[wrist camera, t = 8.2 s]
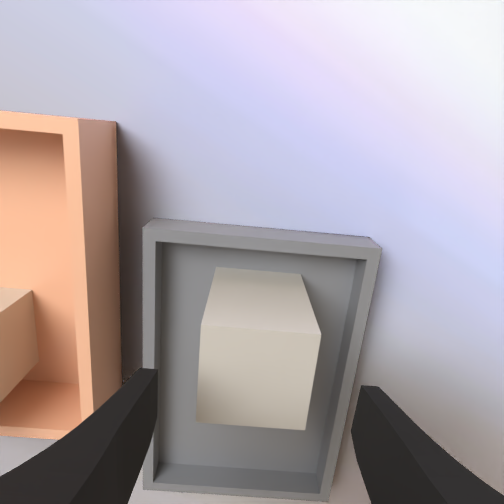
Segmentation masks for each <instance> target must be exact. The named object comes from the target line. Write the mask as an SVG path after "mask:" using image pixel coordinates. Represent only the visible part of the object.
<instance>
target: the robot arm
mask: <svg viewBox="0 0 504 504" xmlns="http://www.w3.org/2000/svg"><path fill="white" fill-rule="evenodd" d="M157 412H158V369H148V368H140V369H139V370H137V371H136V372H135V373H134V374H133V375H132V376H131V377H130V379H129V380H128V381H127V382H126V383H125V384H124V385H123V386H122V387H121V388H119V389H118V390H117V391H116V392H115V393H114V394H113V395H112V396H111V397H110V398H109V399H108V400H107V401H106V402H105V403H104V404H103V405H101V406H100V407H99V408H98V409H97V410H96V411H95V412H93V413H92V414H91V415H90V416H89V417H88V418H86V419H85V420H84V421H83V422H82V423H80V424H79V425H78V426H77V427H75V428H74V429H73V430H72V431H70V432H69V433H68V434H66V435H65V436H64V437H62V438H61V439H60V440H58V441H57V442H55V443H54V444H53V445H51V446H50V447H48V448H47V449H45V450H44V451H42V452H40V453H39V454H37V455H36V456H34V457H32V458H31V459H29V460H28V461H26V462H24V463H23V464H21V465H20V466H18V467H16V468H14V469H13V470H11V471H9V472H7V473H6V474H4V475H2V476H0V504H128V501H129V499H130V496H131V493H132V491H133V488H134V486H135V483H136V480H137V478H138V475H139V473H140V470H141V468H142V465H143V462H144V460H145V457H146V454H147V452H148V449H149V446H150V443H151V439H152V436H153V432H154V428H155V424H156V420H157ZM351 434H352V439H353V444H354V449H355V453H356V458H357V462H358V465H359V468H360V471H361V474H362V477H363V480H364V483H365V486H366V489H367V492H368V495H369V498H370V501H371V504H504V496H503V495H502V494H500V493H499V492H498V491H496V490H495V489H493V488H492V487H490V486H489V485H488V484H486V483H485V482H483V481H482V480H481V479H479V478H478V477H477V476H476V475H474V474H473V473H472V472H470V471H469V470H468V469H467V468H465V467H464V466H463V465H461V464H460V463H459V462H458V461H456V460H455V459H454V458H453V457H452V456H450V455H449V454H448V453H447V452H446V451H445V450H444V449H442V448H441V447H440V446H439V445H438V444H437V443H436V442H434V441H433V440H432V439H431V438H430V437H429V436H428V435H427V434H426V433H425V432H424V431H423V430H422V429H420V428H419V427H418V426H417V425H416V424H415V423H414V422H413V421H412V420H411V419H410V418H409V417H408V416H407V415H406V414H405V413H404V412H403V411H402V410H401V409H400V408H399V407H398V406H397V405H396V404H395V403H394V402H393V401H392V400H391V399H390V398H389V397H388V396H387V395H386V394H385V393H384V392H383V391H382V390H381V389H380V388H379V387H376V386H364V385H361V388H360V393H359V397H358V402H357V406H356V411H355V415H354V420H353V424H352V429H351Z"/></svg>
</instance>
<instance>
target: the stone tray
mask: <svg viewBox="0 0 504 504" xmlns="http://www.w3.org/2000/svg"><path fill="white" fill-rule="evenodd" d="M142 229H143V368H148V369H158V412H157V420H156V424H155V428H154V432H153V436H152V439H151V443H150V446H149V449H148V452H147V454H146V457H145V460H144V462H143V490H157V491H172V492H187V493H202V494H217V495H232V496H247V497H261V498H276V499H291V500H306V501H321V502H328V501H329V496H330V491H331V487H332V482H333V477H334V473H335V468H336V463H337V458H338V454H339V449H340V444H341V440H342V435H343V430H344V426H345V421H346V416H347V412H348V407H349V402H350V397H351V393H352V388H353V383H354V379H355V374H356V369H357V365H358V360H359V355H360V351H361V346H362V341H363V336H364V332H365V327H366V322H367V318H368V313H369V308H370V304H371V299H372V294H373V290H374V285H375V280H376V275H377V271H378V266H379V261H380V257H381V252H382V248H381V247H380V246H379V245H378V244H376V243H375V242H374V241H373V240H372V239H371V238H370V237H363V236H352V235H340V234H329V233H318V232H307V231H296V230H284V229H273V228H262V227H251V226H240V225H228V224H217V223H206V222H195V221H183V220H172V219H161V218H153V219H152V220H151V221H149V222H148V223H147V224H146V225H145V226H144V227H143V228H142ZM216 267H224V268H236V269H248V270H259V271H271V272H283V273H295V274H301V277H302V280H303V283H304V286H305V289H306V291H307V294H308V297H309V300H310V303H311V306H312V309H313V312H314V315H315V318H316V320H317V323H318V326H319V329H320V332H321V340H320V346H319V351H318V357H317V363H316V369H315V375H314V381H313V386H312V392H311V398H310V404H309V410H308V415H307V421H306V427H305V430H294V429H280V428H266V427H253V426H239V425H225V424H211V423H198V422H196V407H197V389H198V370H199V352H200V334H201V323H202V319H203V315H204V311H205V308H206V304H207V300H208V296H209V292H210V289H211V285H212V281H213V277H214V273H215V269H216Z"/></svg>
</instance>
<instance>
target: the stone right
mask: <svg viewBox="0 0 504 504" xmlns="http://www.w3.org/2000/svg"><path fill="white" fill-rule="evenodd" d="M320 340H321V332H320V329H319V326H318V323H317V320H316V318H315V315H314V312H313V309H312V306H311V303H310V300H309V297H308V294H307V291H306V289H305V286H304V283H303V280H302V277H301V274H295V273H283V272H271V271H259V270H248V269H236V268H224V267H216V269H215V273H214V277H213V281H212V285H211V289H210V292H209V296H208V300H207V304H206V308H205V311H204V315H203V319H202V323H201V334H200V352H199V370H198V389H197V407H196V422H198V423H211V424H225V425H239V426H253V427H266V428H280V429H294V430H305V427H306V421H307V415H308V410H309V404H310V398H311V392H312V386H313V381H314V375H315V369H316V363H317V357H318V351H319V346H320Z"/></svg>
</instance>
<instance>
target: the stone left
mask: <svg viewBox="0 0 504 504" xmlns="http://www.w3.org/2000/svg"><path fill="white" fill-rule="evenodd" d="M38 361H39V355H38V345H37V335H36V325H35V315H34V305H33V295H32V290H29V289H17V288H6V287H0V402H1V401H2V400H3V399H4V398H5V397H6V396H7V395H8V394H9V393H10V392H11V391H12V389H13V388H14V387H15V386H16V385H17V384H18V383H19V382H20V381H21V380H22V379H23V378H24V377H25V375H26V374H27V373H28V372H29V371H30V370H31V369H32V368H33V367H34V366H35V365H36V364H37V363H38Z"/></svg>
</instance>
